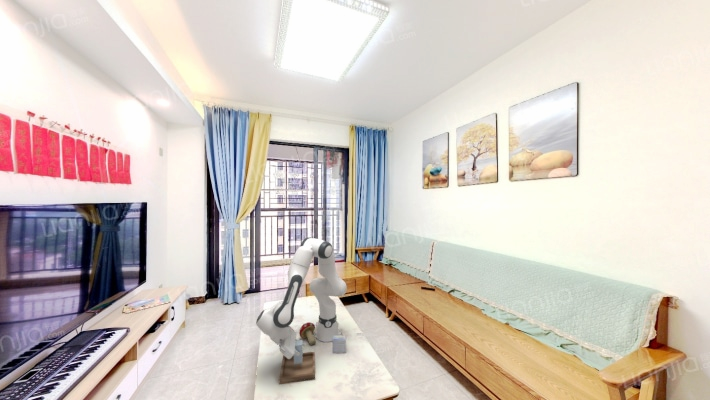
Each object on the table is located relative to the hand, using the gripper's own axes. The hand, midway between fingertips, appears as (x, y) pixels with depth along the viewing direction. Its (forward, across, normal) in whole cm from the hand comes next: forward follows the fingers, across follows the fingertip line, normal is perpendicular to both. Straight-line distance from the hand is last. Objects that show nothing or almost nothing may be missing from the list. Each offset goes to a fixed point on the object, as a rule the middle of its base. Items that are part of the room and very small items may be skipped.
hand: (299, 350), depth 128 cm
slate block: (+3, 0, +4) cm, 5 cm away
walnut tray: (+7, 0, +8) cm, 10 cm away
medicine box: (+24, +11, -9) cm, 28 cm away
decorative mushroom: (+10, +25, +4) cm, 28 cm away
